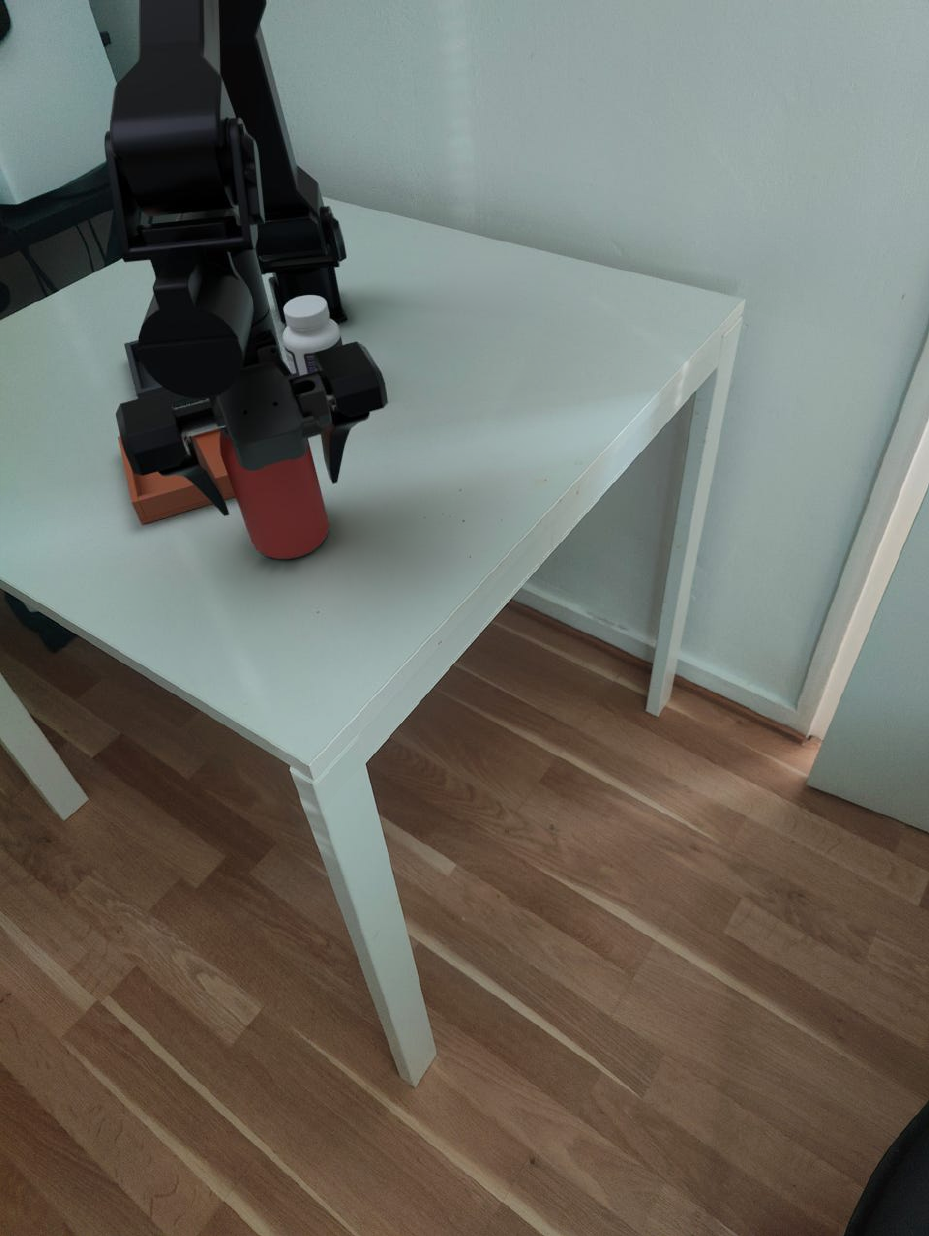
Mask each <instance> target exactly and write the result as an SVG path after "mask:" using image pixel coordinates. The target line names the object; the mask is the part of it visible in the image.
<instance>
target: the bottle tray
mask: <svg viewBox="0 0 929 1236" xmlns="http://www.w3.org/2000/svg"><path fill="white" fill-rule="evenodd" d="M219 435H220V430H219V429H216V430H212V431H209V432H205V433H201V434H198V435H194V437H195V439H196V441H197V443H198V445H199V447H200V449H201V451H202V453H203V455H204V457H205V459H206V461H207V463H208V465H209V467H210V469H211V471H212V473H213V475H214V477H215V479H216V481H217V483H218V485H219V487H220V489H221V491H222V494H223V497H224V500H225V501H226V500H229V499H232V498H236V497H235V494H234V491H233V488H232V485H231V483H230V480H229V477H228V474H227V471H226V468H225V465H224V463H223V460H222V457H221V454H220V442H219ZM117 440H118V445H119V449H120V454H121V459H122V463H123V468H124V474H125V479H126V482H127V488H128V493H129V497H130V502H131V505H132V507H133V509H134V511H135V513H136V516H137V517H138V519H139V522H140V524H141V525H146V524H148V523H152V522H155V521H158V520H162V519H165V518H168V517H173V516H176V515H178V514H183V513H185V512H188V511H189V512H190V511H192V510H196V509H199V508H203V507H205V506H210V505H214V504H213V503H212V502H211V501H210V500H209V499H208V498H207V497H206V496H205V495H204V494H203V493H202V492H201V491H200V490H199V489H198V488H197V487H196V486H195V485H194V484H193V483H191V482H190V481H189V480H188V479H186V478H185V477H183V476H179V475H171V476H168V477H164V476H161V475H160V474H159V473H158V472H155V473H151V474H148V475H144V476H142V475H137V474H134V473H133V470H132V468H131V466H130V464H129V461H128V459H127V457H126V454H125V452H124V449H123V446H122V443H121V438H120V435H119V436H117Z"/></svg>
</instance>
